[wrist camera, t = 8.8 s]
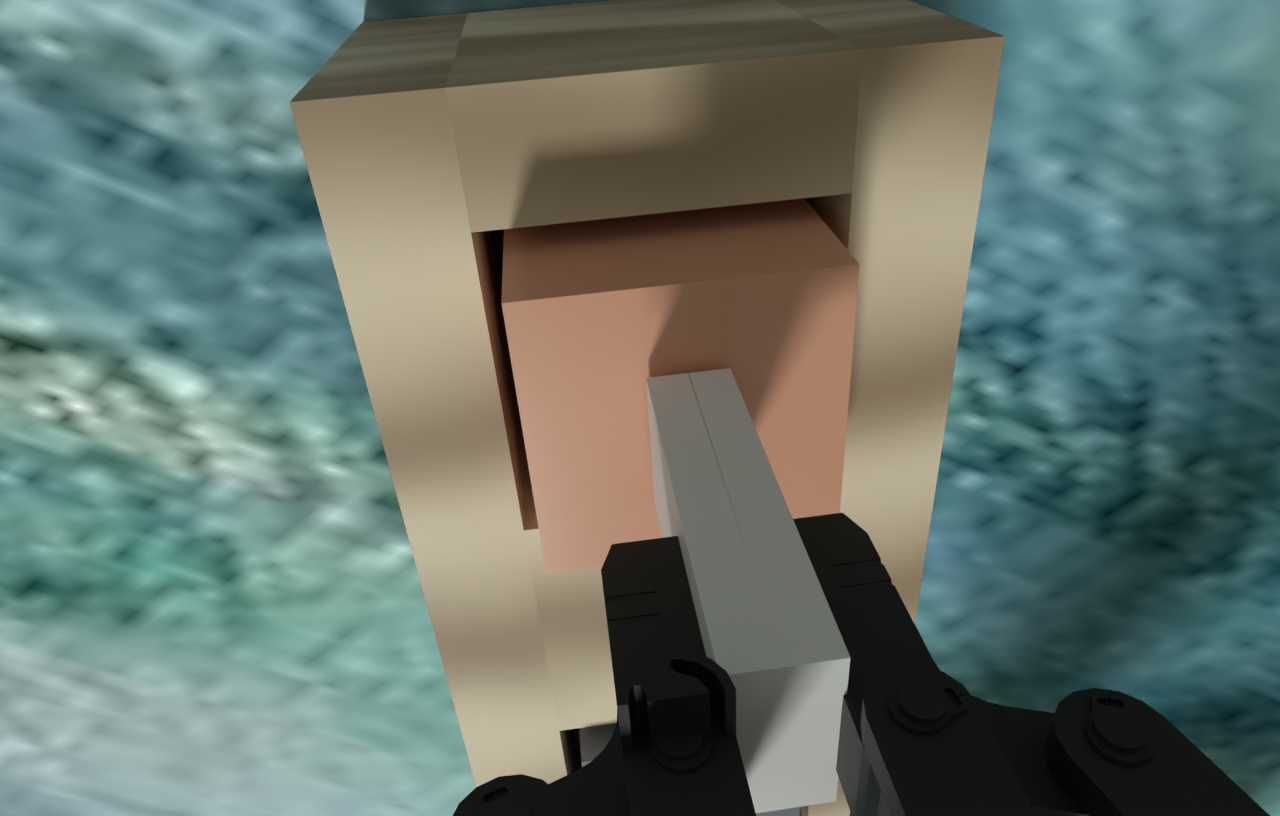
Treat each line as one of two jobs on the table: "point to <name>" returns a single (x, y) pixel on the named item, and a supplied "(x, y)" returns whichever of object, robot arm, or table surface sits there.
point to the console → (619, 187)
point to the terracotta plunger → (673, 355)
